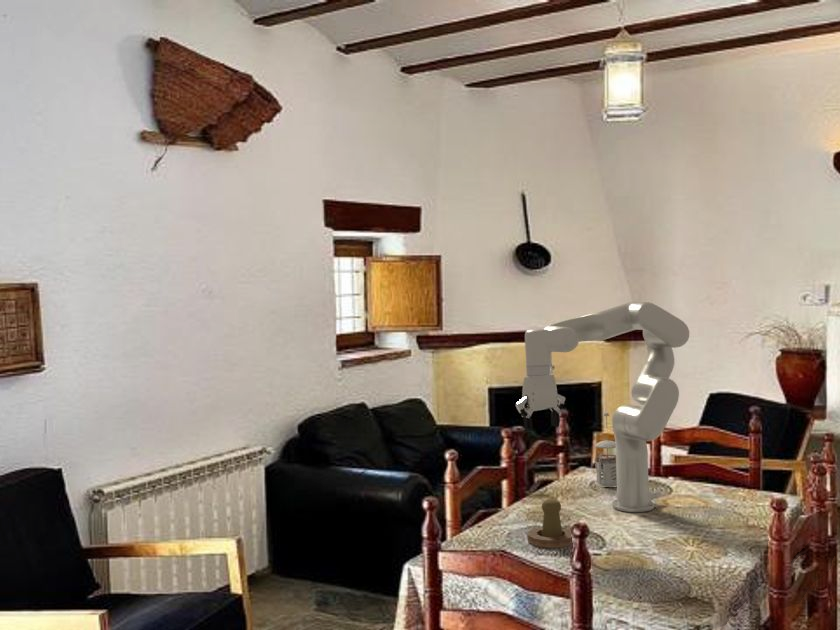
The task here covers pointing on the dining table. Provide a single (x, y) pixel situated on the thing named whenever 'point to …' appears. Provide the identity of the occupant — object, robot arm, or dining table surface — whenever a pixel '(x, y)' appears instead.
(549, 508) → the cork
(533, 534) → the bead ring
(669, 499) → the dining table surface
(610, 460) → the french press
